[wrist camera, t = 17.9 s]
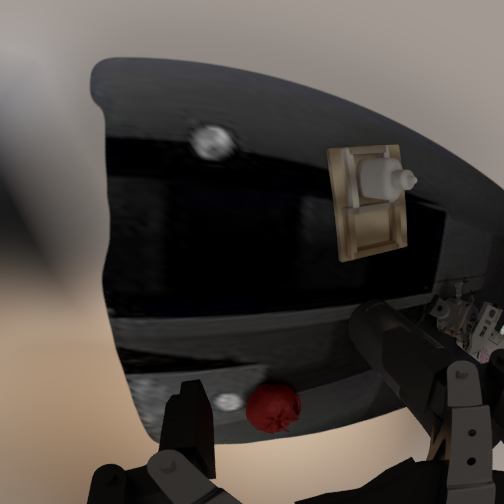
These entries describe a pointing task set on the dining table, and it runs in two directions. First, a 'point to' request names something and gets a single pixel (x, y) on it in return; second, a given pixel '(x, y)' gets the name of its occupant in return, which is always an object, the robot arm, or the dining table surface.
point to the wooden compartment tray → (364, 206)
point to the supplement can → (487, 347)
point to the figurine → (465, 319)
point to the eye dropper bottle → (383, 178)
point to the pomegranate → (273, 407)
